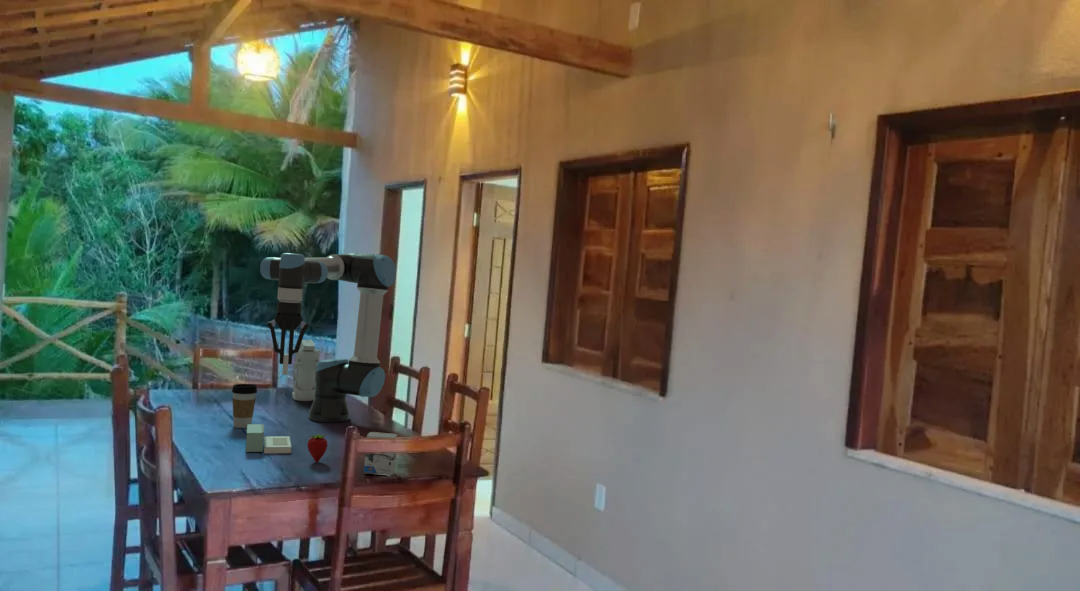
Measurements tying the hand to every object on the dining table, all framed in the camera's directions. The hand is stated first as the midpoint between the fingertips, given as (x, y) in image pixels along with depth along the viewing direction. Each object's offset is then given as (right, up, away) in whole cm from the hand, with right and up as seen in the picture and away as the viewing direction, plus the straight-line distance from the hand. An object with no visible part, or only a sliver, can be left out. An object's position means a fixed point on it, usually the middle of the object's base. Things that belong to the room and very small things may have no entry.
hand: (284, 374), depth 246 cm
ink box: (+35, -28, -19) cm, 48 cm away
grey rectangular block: (-9, -23, -2) cm, 25 cm away
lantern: (-20, -19, +85) cm, 89 cm away
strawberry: (+14, -26, -12) cm, 32 cm away
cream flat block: (-3, -24, +1) cm, 24 cm away
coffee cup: (-24, -21, +26) cm, 41 cm away
